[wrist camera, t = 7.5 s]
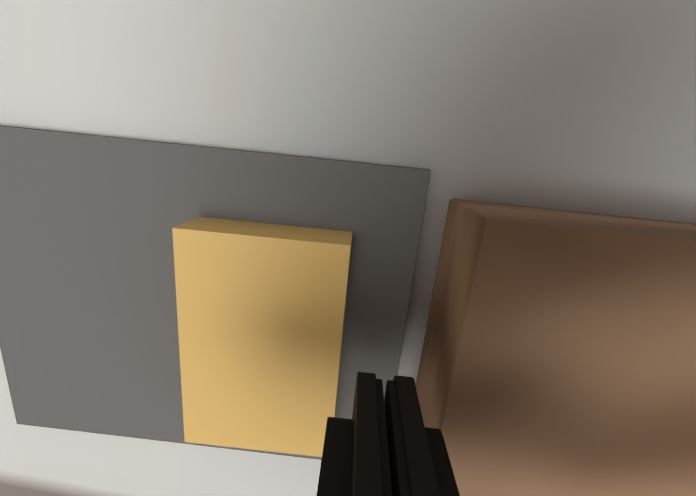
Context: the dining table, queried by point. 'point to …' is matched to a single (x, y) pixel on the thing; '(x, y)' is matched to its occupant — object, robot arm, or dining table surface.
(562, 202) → the dining table surface
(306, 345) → the yellow rectangular block
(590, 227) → the brown wooden block
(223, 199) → the mat
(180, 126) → the dining table surface
